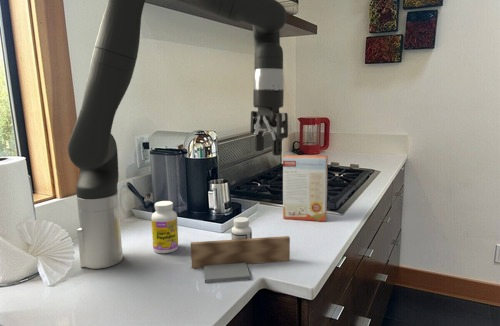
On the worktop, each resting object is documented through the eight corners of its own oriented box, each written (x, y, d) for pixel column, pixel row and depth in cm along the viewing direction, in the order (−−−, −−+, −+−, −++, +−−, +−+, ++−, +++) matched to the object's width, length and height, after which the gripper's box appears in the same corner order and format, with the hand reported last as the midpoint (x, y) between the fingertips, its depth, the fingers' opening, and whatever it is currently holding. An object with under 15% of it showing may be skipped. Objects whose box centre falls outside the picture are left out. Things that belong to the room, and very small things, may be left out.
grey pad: (204, 283, 82) (204, 279, 82) (204, 268, 89) (204, 265, 89) (250, 279, 84) (250, 276, 84) (246, 265, 91) (246, 262, 91)
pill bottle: (240, 246, 103) (240, 214, 101) (256, 250, 99) (255, 218, 98) (227, 252, 99) (226, 220, 97) (242, 257, 95) (242, 224, 94)
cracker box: (326, 216, 127) (328, 155, 123) (325, 222, 121) (326, 158, 117) (285, 213, 130) (286, 154, 127) (282, 219, 125) (282, 156, 121)
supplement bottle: (153, 255, 97) (150, 207, 95) (152, 246, 103) (150, 201, 101) (179, 252, 99) (177, 205, 97) (177, 243, 105) (175, 198, 103)
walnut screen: (191, 268, 90) (190, 244, 89) (191, 265, 91) (190, 242, 90) (289, 260, 93) (289, 237, 92) (288, 258, 94) (288, 236, 93)
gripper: (241, 88, 98) (242, 150, 100) (270, 87, 85) (270, 158, 88) (266, 88, 101) (266, 148, 104) (297, 87, 89) (296, 155, 92)
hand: (267, 152), depth 96 cm, fingers open, 8 cm apart
